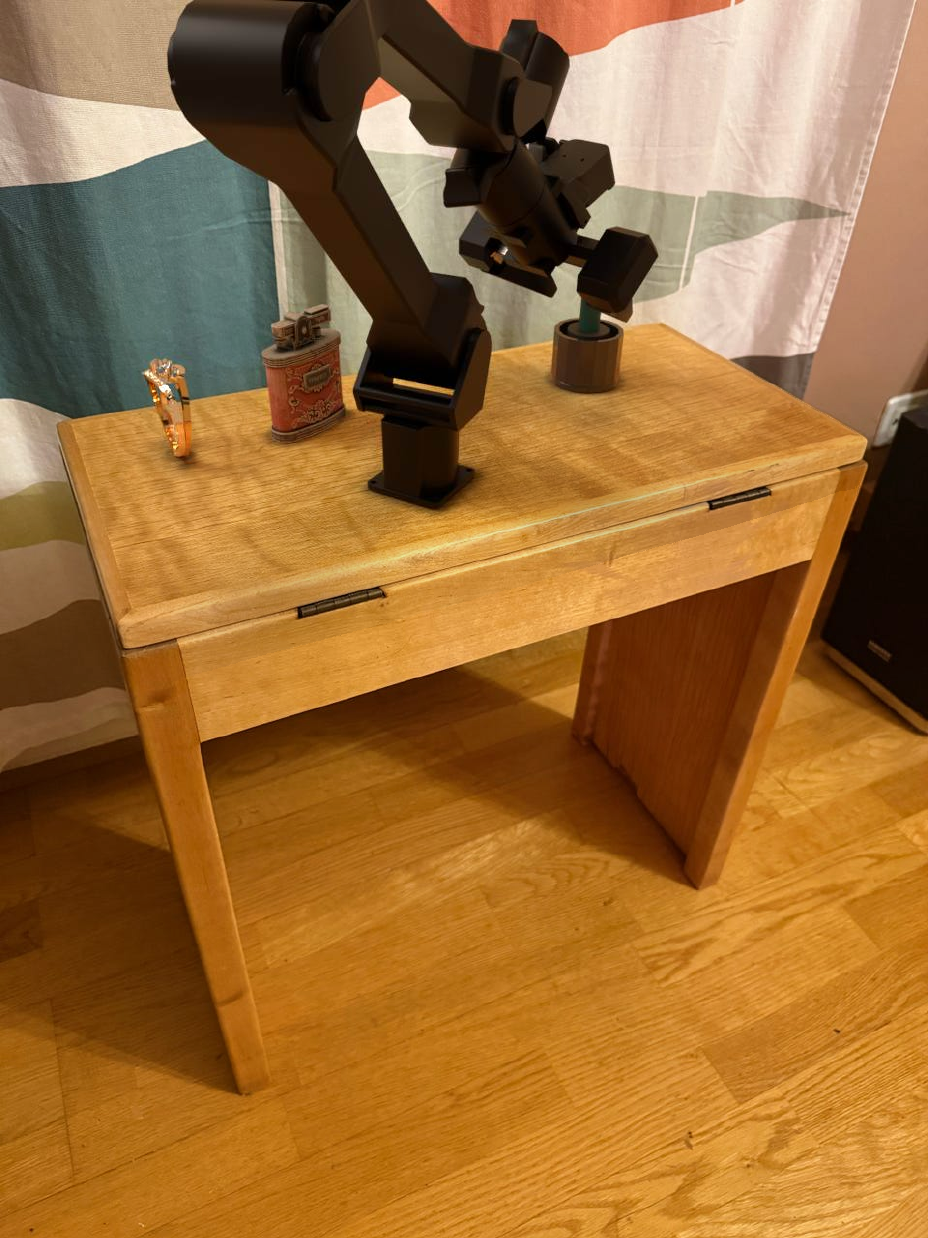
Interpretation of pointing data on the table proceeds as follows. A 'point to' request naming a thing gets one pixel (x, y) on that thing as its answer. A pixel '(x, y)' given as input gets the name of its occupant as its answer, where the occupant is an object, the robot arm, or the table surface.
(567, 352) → the tumbler
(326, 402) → the lighter
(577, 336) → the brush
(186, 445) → the ring
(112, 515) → the table surface
